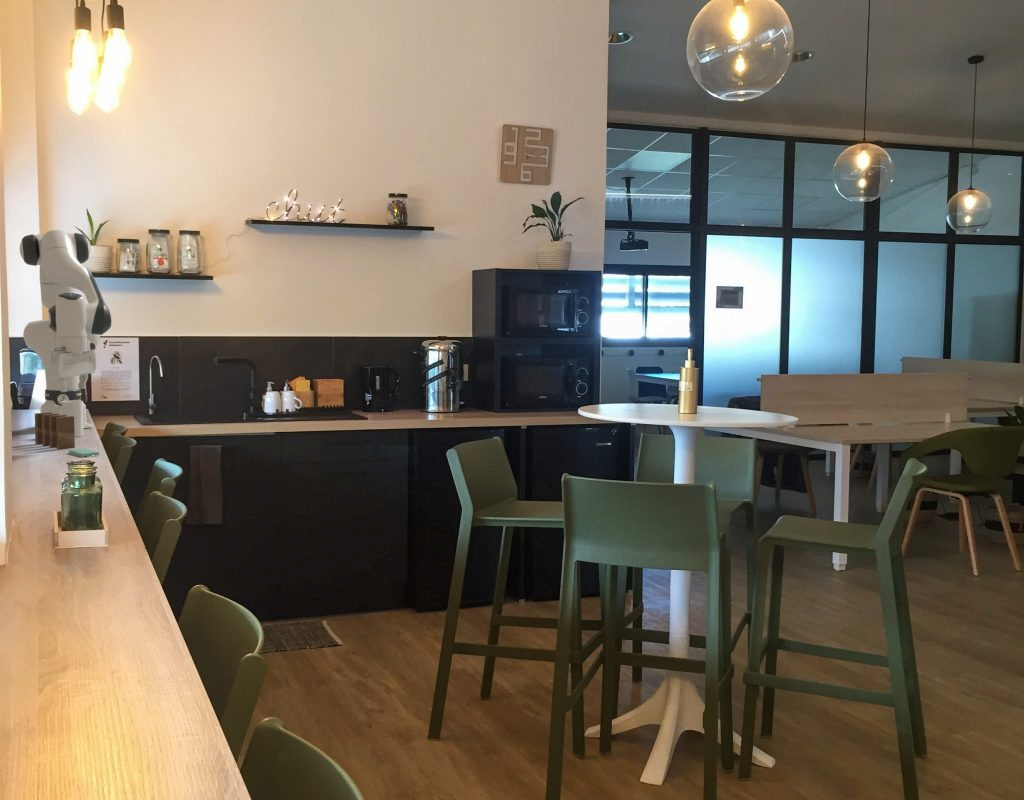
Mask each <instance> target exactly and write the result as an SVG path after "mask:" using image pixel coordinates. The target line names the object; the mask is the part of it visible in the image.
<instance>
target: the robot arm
mask: <svg viewBox="0 0 1024 800" xmlns="http://www.w3.org/2000/svg"><path fill="white" fill-rule="evenodd" d="M19 253H20V257H21V258H22V260H23V262H24V263H25V264H27V265H29V266H33V267H34V266H35V267H36V266H39V285H40V297H41V302H42V305H43V306H44V307H45V308H46V309H48V311H47V312H48V319H40V320H39V319H38V320H34V321H29V322H28V323H27V324H26V325H25V327H24V329H23V334H22V336H23V341H24V342H25V344H26V345H27V347H28V348H29V349H31V350H33V352H34V353H35V354H36V355H37V356H38V358H39V359H40V360H41V362H42V365H43V368H44V373H45V376H44V377H45V387H46V389H44V399H45V401H44V403H43V404H42V405H40V411H39V413H47V412H51V413H52V411H53V409H54V406H55V405H59V406H62V401H69V400H80V401H82V400H81V399H82V390H83V389H86V388H87V384H86V383H87V381H88V379H89V374H94V373H95V372H96V369H97V354H96V352H95V351H96V350H97V346H98V344H99V342H100V338H101V337H100V336H102V335H104V334H106V332H108V331H110V329H111V328H112V322H113V321H112V320H113V319H112V314H111V312H110V308H109V307H108V306H107V304H106V302H105V300H104V298H103V296H102V293H101V291H100V288H99V286H98V284H97V281H96V280H95V278H94V275H93V274H92V271H91V270H90V269H88V268H87V267H85V266H84V265H83V264H85V263H86V262H87V261H88V260H89V257H90V256H91V244H90V242H89V240H88V238H87V236H85V235H84V234H82V233H78V232H74V233H70V232H69V233H68V232H66V231H63V230H61V229H51V230H49V231H46V232H45V233H41V234H33V233H32V234H28V235H25V236H23V238H21V242H20V244H19ZM75 289H76V290H79V291H80V292H82V293H83V294H84V296H85V297H84V296H83V295H82V294H80V293H76V290H75ZM85 298H86V301H87V303H86V302H85ZM86 407H87V406H86V404H85V403H84V402H83V429H90V428H93V424H91V423H89V422H87V417H88V416H87V408H86ZM55 414H59V415H62V410H61V409H58V410H57V411H56V412H55Z"/></svg>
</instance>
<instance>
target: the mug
mask: <svg viewBox="0 0 1024 800" xmlns="http://www.w3.org/2000/svg"><path fill="white" fill-rule="evenodd" d="M83 403H84V400H81V401H80V400H69V401H62V406H59V405H55V406H54V409H53V411H52V414H55V412H56V411H57V410H58V409H61V410H62V415H67V416H74V432H75V438H78V437H83V436H84V428H83Z"/></svg>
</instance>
